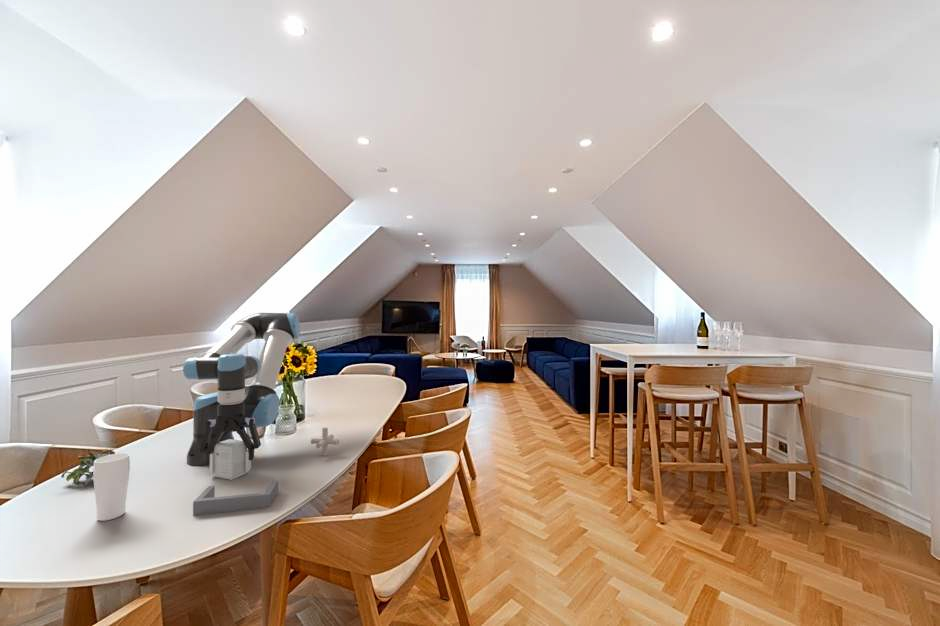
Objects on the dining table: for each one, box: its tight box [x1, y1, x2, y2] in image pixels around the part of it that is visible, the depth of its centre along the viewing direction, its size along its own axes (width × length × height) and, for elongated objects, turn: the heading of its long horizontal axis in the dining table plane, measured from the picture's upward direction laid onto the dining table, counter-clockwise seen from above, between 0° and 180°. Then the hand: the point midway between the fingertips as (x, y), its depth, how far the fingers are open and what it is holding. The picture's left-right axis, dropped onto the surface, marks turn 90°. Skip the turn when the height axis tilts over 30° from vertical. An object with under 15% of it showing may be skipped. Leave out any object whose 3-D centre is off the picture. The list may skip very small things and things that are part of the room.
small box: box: [213, 439, 248, 481], centre depth 121 cm, size 8×6×10 cm
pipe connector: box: [310, 426, 340, 457], centre depth 139 cm, size 10×10×10 cm
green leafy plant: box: [60, 448, 117, 488], centre depth 116 cm, size 11×11×12 cm
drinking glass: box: [92, 452, 131, 522], centre depth 96 cm, size 7×7×15 cm
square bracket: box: [192, 479, 279, 516], centre depth 103 cm, size 18×9×4 cm, turn 103°
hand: (230, 471), depth 121 cm, fingers closed on small box, 9 cm apart
